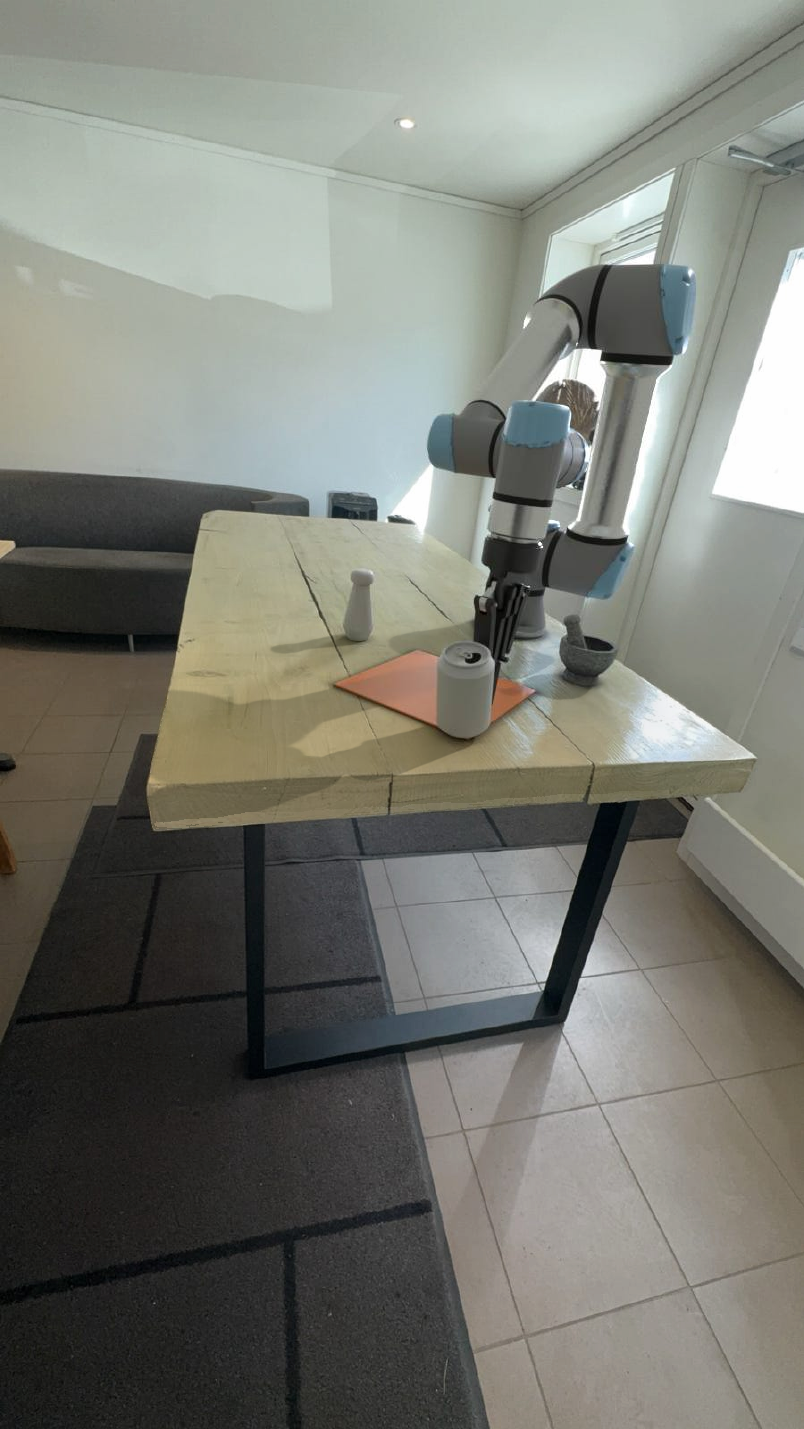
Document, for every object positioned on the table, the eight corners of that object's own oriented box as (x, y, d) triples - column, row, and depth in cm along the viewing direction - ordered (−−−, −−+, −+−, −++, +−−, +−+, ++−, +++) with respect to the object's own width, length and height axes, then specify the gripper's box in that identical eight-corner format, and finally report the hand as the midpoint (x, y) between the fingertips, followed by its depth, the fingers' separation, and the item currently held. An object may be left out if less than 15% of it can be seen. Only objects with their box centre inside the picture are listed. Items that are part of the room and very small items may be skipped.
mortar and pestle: (587, 668, 112) (603, 607, 107) (618, 688, 105) (637, 623, 99) (536, 669, 109) (551, 606, 103) (565, 690, 101) (582, 623, 96)
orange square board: (417, 651, 110) (417, 649, 110) (535, 691, 99) (536, 690, 99) (333, 685, 92) (333, 683, 91) (467, 740, 80) (467, 738, 80)
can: (474, 749, 78) (479, 674, 71) (426, 730, 82) (426, 657, 74) (498, 719, 83) (505, 646, 76) (451, 703, 87) (454, 631, 79)
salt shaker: (368, 644, 110) (375, 575, 104) (339, 639, 110) (344, 570, 105) (374, 635, 115) (381, 569, 110) (345, 630, 116) (351, 564, 110)
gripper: (509, 529, 82) (480, 683, 92) (465, 535, 72) (437, 707, 82) (560, 539, 79) (523, 698, 89) (520, 547, 69) (484, 726, 79)
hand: (482, 702), depth 86 cm, fingers closed
